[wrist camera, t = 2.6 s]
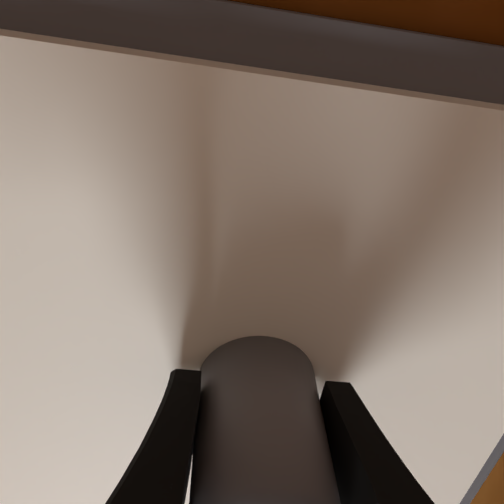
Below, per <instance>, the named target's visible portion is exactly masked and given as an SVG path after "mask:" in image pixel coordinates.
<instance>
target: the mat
mask: <svg viewBox="0 0 504 504" xmlns="http://www.w3.org/2000/svg"><path fill="white" fill-rule="evenodd" d="M0 29H6V30H12V31H19V32H25V33H32V34H39V35H45V36H52V37H59V38H65V39H72V40H78V41H85V42H92V43H98V44H105V45H111V46H118V47H125V48H131V49H138V50H145V51H151V52H158V53H164V54H171V55H178V56H184V57H191V58H198V59H204V60H211V61H217V62H224V63H231V64H237V65H244V66H251V67H257V68H264V69H270V70H277V71H284V72H290V73H297V74H303V75H310V76H317V77H323V78H330V79H337V80H343V81H350V82H356V83H363V84H370V85H376V86H383V87H390V88H396V89H403V90H409V91H416V92H423V93H429V94H436V95H443V96H449V97H456V98H462V99H469V100H476V101H482V102H489V103H495V104H502V105H504V46H500V45H494V44H488V43H482V42H476V41H470V40H464V39H458V38H452V37H446V36H440V35H434V34H428V33H422V32H416V31H410V30H403V29H397V28H391V27H385V26H379V25H373V24H367V23H361V22H355V21H349V20H343V19H337V18H331V17H325V16H319V15H313V14H307V13H301V12H295V11H289V10H283V9H277V8H271V7H265V6H258V5H252V4H246V3H240V2H234V1H228V0H0ZM503 452H504V434H503V435H502V437H501V439H500V440H499V442H498V443H497V445H496V447H495V448H494V450H493V451H492V453H491V454H490V456H489V458H488V459H487V461H486V462H485V464H484V466H483V467H482V469H481V470H480V472H479V474H478V475H477V477H476V478H475V480H474V481H473V483H472V485H471V486H470V488H469V489H468V491H467V493H466V494H465V496H464V497H463V499H462V500H461V502H460V504H470V503H471V501H472V500H473V498H474V497H475V495H476V493H477V492H478V490H479V489H480V487H481V486H482V484H483V483H484V481H485V480H486V478H487V476H488V475H489V473H490V472H491V470H492V469H493V467H494V466H495V464H496V463H497V461H498V460H499V458H500V456H501V455H502V453H503Z"/></svg>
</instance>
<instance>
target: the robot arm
mask: <svg viewBox="0 0 504 504" xmlns="http://www.w3.org/2000/svg"><path fill="white" fill-rule="evenodd" d="M201 372H202V371H199V370H186V369H175V370H173V371H171V373H170V377H169V381H168V384H167V387H166V390H165V393H164V396H163V398H162V401H161V403H160V405H159V408H158V410H157V412H156V415H155V417H154V419H153V421H152V423H151V425H150V427H149V429H148V431H147V433H146V435H145V437H144V439H143V441H142V443H141V445H140V446H139V448H138V450H137V452H136V454H135V455H134V457H133V459H132V460H131V462H130V464H129V466H128V467H127V469H126V471H125V473H124V474H123V476H122V478H121V479H120V481H119V483H118V484H117V486H116V487H115V489H114V491H113V492H112V494H111V495H110V497H109V498H108V500H107V501H106V503H105V504H185V499H186V493H187V487H188V481H189V476H190V469H191V462H192V455H193V444H194V438H195V432H196V425H197V418H198V410H199V403H200V395H201ZM320 404H321V409H322V414H323V419H324V423H325V428H326V433H327V438H328V443H329V448H330V453H331V458H332V463H333V468H334V472H335V477H336V482H337V487H338V492H339V497H340V502H341V504H435V503H434V502H433V501H432V500H431V498H430V497H429V496H428V494H427V493H426V492H425V491H424V489H423V488H422V487H421V485H420V484H419V483H418V482H417V480H416V479H415V478H414V476H413V475H412V473H411V472H410V471H409V469H408V468H407V467H406V465H405V464H404V463H403V461H402V460H401V458H400V457H399V455H398V454H397V453H396V451H395V450H394V448H393V447H392V446H391V444H390V443H389V441H388V440H387V438H386V437H385V435H384V434H383V432H382V431H381V429H380V428H379V426H378V425H377V423H376V422H375V420H374V419H373V417H372V416H371V414H370V413H369V411H368V409H367V408H366V406H365V405H364V403H363V402H362V400H361V398H360V397H359V395H358V394H357V392H356V391H355V389H354V387H353V386H352V385H351V383H350V382H337V381H325V384H324V387H323V390H322V394H321V397H320Z"/></svg>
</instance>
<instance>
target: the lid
mask: <svg viewBox="0 0 504 504" xmlns="http://www.w3.org/2000/svg"><path fill="white" fill-rule="evenodd" d="M175 369H186V370H199V371H202V372H201V395H200V403H199V410H198V418H197V425H196V432H195V438H194V444H193V455H192V462H191V469H190V476H189V481H188V487H187V493H186V499H185V504H341V502H340V497H339V492H338V487H337V482H336V477H335V472H334V468H333V463H332V458H331V453H330V448H329V443H328V438H327V433H326V428H325V423H324V419H323V414H322V409H321V404H320V397H321V394H322V390H323V387H324V384H325V381H337V382H350V383H351V385H352V386H353V387H354V389H355V391H356V392H357V394H358V395H359V397H360V398H361V400H362V402H363V403H364V405H365V406H366V408H367V409H368V411H369V413H370V414H371V416H372V417H373V419H374V420H375V422H376V423H377V425H378V426H379V428H380V429H381V431H382V432H383V434H384V435H385V437H386V438H387V440H388V441H389V443H390V444H391V446H392V447H393V448H394V450H395V451H396V453H397V454H398V455H399V457H400V458H401V460H402V461H403V463H404V464H405V465H406V467H407V468H408V469H409V471H410V472H411V473H412V475H413V476H414V478H415V479H416V480H417V482H418V483H419V484H420V485H421V487H422V488H423V489H424V491H425V492H426V493H427V494H428V496H429V497H430V498H431V500H432V501H433V502H434V503H435V504H460V502H461V500H462V499H463V497H464V496H465V494H466V493H467V491H468V489H469V488H470V486H471V485H472V483H473V481H474V480H475V478H476V477H477V475H478V474H479V472H480V470H481V469H482V467H483V466H484V464H485V462H486V461H487V459H488V458H489V456H490V454H491V453H492V451H493V450H494V448H495V447H496V445H497V443H498V442H499V440H500V439H501V437H502V435H503V434H504V105H502V104H495V103H489V102H482V101H476V100H469V99H462V98H456V97H449V96H443V95H436V94H429V93H423V92H416V91H409V90H403V89H396V88H390V87H383V86H376V85H370V84H363V83H356V82H350V81H343V80H337V79H330V78H323V77H317V76H310V75H303V74H297V73H290V72H284V71H277V70H270V69H264V68H257V67H251V66H244V65H237V64H231V63H224V62H217V61H211V60H204V59H198V58H191V57H184V56H178V55H171V54H164V53H158V52H151V51H145V50H138V49H131V48H125V47H118V46H111V45H105V44H98V43H92V42H85V41H78V40H72V39H65V38H59V37H52V36H45V35H39V34H32V33H25V32H19V31H12V30H6V29H0V504H105V503H106V501H107V500H108V498H109V497H110V495H111V494H112V492H113V491H114V489H115V487H116V486H117V484H118V483H119V481H120V479H121V478H122V476H123V474H124V473H125V471H126V469H127V467H128V466H129V464H130V462H131V460H132V459H133V457H134V455H135V454H136V452H137V450H138V448H139V446H140V445H141V443H142V441H143V439H144V437H145V435H146V433H147V431H148V429H149V427H150V425H151V423H152V421H153V419H154V417H155V415H156V412H157V410H158V408H159V405H160V403H161V401H162V398H163V396H164V393H165V390H166V387H167V384H168V381H169V377H170V373H171V371H173V370H175Z"/></svg>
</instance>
